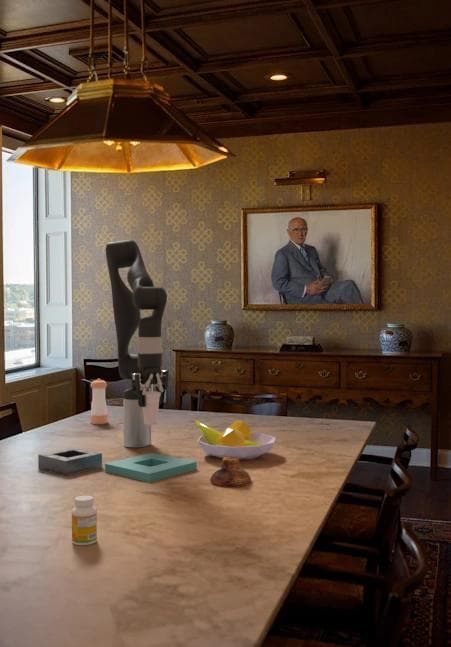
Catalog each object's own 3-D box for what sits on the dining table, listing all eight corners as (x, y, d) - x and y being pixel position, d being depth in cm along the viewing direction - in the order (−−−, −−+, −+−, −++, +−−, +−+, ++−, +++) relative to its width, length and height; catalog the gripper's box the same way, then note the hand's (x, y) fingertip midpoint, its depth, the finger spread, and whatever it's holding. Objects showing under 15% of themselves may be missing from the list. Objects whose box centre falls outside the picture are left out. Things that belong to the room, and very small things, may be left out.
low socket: (152, 460, 234) (152, 452, 234) (196, 469, 221) (196, 461, 221) (105, 471, 218) (104, 463, 218) (149, 482, 205) (149, 473, 205)
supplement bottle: (73, 538, 158) (73, 494, 157) (98, 537, 158) (97, 494, 158) (70, 546, 152) (69, 501, 152) (95, 545, 153) (95, 500, 152)
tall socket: (74, 461, 233) (74, 447, 233) (102, 467, 224) (101, 453, 224) (38, 468, 222) (38, 454, 222) (65, 475, 213) (65, 461, 213)
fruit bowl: (291, 455, 241) (291, 422, 241) (238, 469, 221) (238, 433, 221) (230, 443, 260) (230, 413, 260) (176, 456, 240) (176, 422, 240)
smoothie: (157, 425, 215) (157, 379, 215) (137, 425, 217) (137, 379, 216) (163, 422, 222) (163, 377, 221) (143, 421, 223) (143, 377, 222)
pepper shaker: (106, 424, 302) (105, 379, 301) (89, 424, 302) (88, 379, 301) (109, 421, 309) (108, 377, 309) (92, 421, 309) (91, 377, 309)
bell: (204, 480, 209) (204, 455, 208) (241, 476, 213) (241, 452, 213) (219, 490, 198) (219, 464, 198) (258, 485, 203) (258, 460, 202)
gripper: (158, 349, 226) (158, 401, 227) (124, 352, 215) (124, 407, 216) (175, 350, 221) (175, 404, 222) (141, 353, 210) (141, 409, 211)
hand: (150, 405), depth 219 cm, fingers closed on smoothie, 6 cm apart
